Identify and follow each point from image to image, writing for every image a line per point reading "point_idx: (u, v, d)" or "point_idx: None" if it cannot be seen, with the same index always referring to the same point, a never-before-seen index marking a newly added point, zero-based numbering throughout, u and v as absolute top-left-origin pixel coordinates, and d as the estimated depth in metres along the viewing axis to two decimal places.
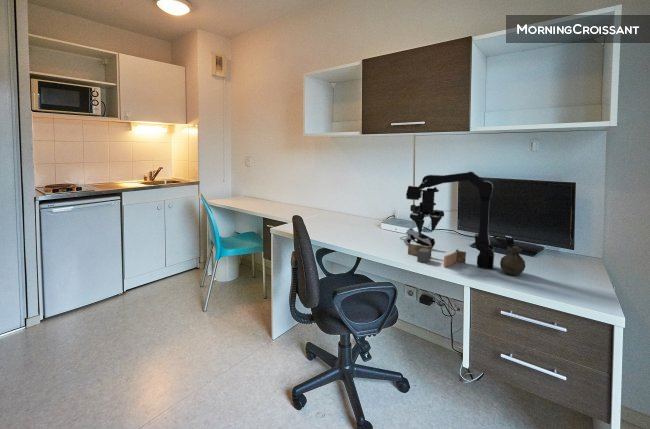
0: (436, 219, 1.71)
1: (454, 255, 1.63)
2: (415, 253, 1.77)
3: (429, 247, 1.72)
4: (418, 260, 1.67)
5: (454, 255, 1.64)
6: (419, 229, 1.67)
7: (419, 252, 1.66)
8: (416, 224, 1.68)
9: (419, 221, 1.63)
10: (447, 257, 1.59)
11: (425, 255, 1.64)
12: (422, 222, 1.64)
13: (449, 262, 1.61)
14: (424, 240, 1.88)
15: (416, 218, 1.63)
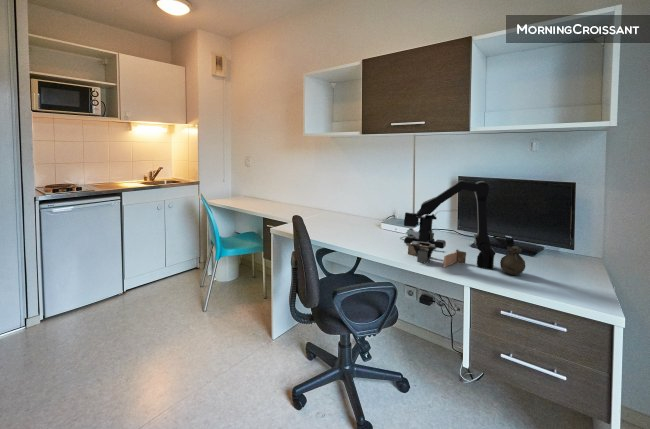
0: None
1: (454, 255, 1.63)
2: (415, 253, 1.77)
3: None
4: (418, 259, 1.67)
5: (454, 255, 1.64)
6: None
7: (419, 252, 1.66)
8: None
9: (411, 245, 1.68)
10: (447, 257, 1.59)
11: (425, 255, 1.64)
12: (414, 247, 1.67)
13: (449, 262, 1.61)
14: None
15: None
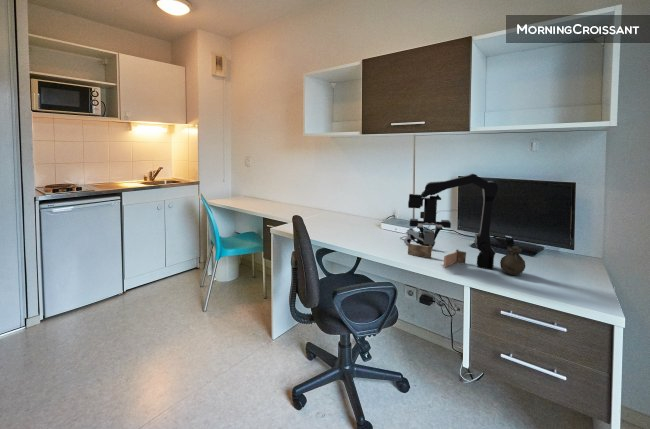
0: (435, 229, 1.63)
1: (454, 255, 1.63)
2: (415, 253, 1.77)
3: (429, 247, 1.72)
4: (425, 242, 1.64)
5: (454, 255, 1.64)
6: (422, 236, 1.66)
7: (426, 234, 1.63)
8: None
9: None
10: (447, 257, 1.59)
11: (432, 236, 1.62)
12: (420, 229, 1.63)
13: (449, 262, 1.61)
14: None
15: None
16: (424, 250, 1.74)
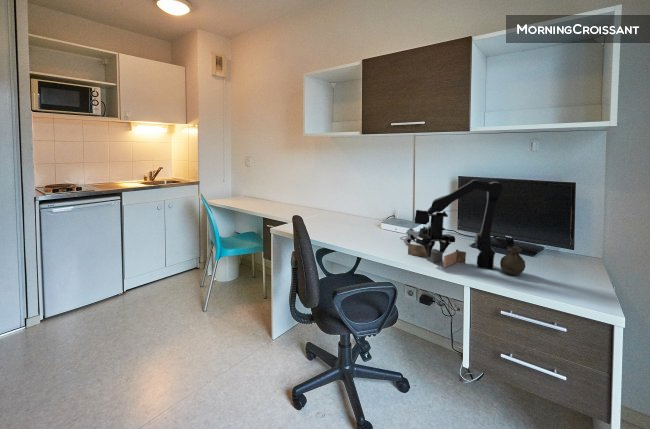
0: (444, 244, 1.66)
1: (454, 255, 1.63)
2: (415, 253, 1.77)
3: None
4: (435, 262, 1.64)
5: (454, 255, 1.64)
6: (428, 253, 1.65)
7: (436, 253, 1.63)
8: (425, 248, 1.66)
9: (426, 246, 1.61)
10: (447, 257, 1.59)
11: (441, 255, 1.64)
12: (430, 247, 1.62)
13: (449, 262, 1.61)
14: None
15: (421, 243, 1.61)
16: (424, 250, 1.74)
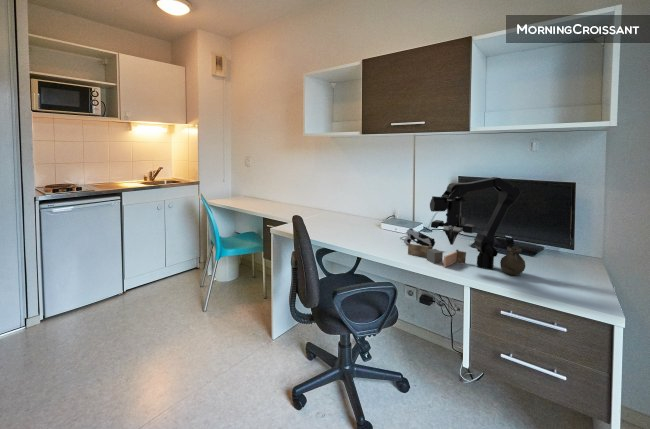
0: None
1: (454, 255, 1.63)
2: (415, 253, 1.77)
3: (429, 247, 1.72)
4: (435, 262, 1.64)
5: (454, 255, 1.64)
6: None
7: (436, 253, 1.63)
8: None
9: None
10: (447, 257, 1.59)
11: (441, 255, 1.64)
12: (446, 232, 1.56)
13: (449, 262, 1.61)
14: (424, 240, 1.88)
15: None
16: (424, 250, 1.74)
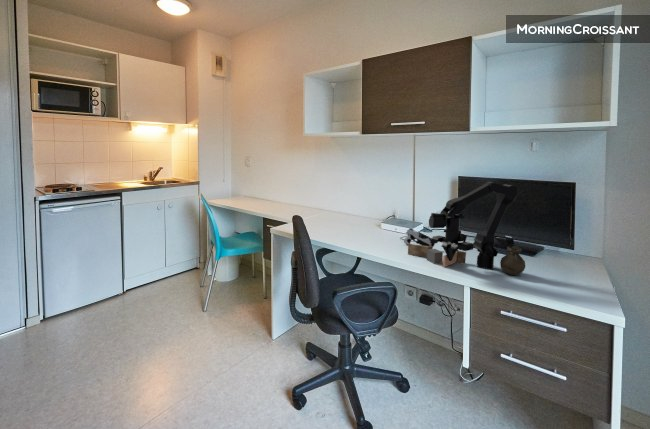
0: None
1: None
2: (415, 253, 1.77)
3: (429, 247, 1.72)
4: (435, 262, 1.64)
5: (454, 255, 1.64)
6: None
7: (436, 253, 1.63)
8: None
9: (441, 246, 1.59)
10: (446, 257, 1.59)
11: (441, 255, 1.64)
12: (444, 248, 1.57)
13: (448, 262, 1.61)
14: (424, 240, 1.88)
15: None
16: (424, 250, 1.74)
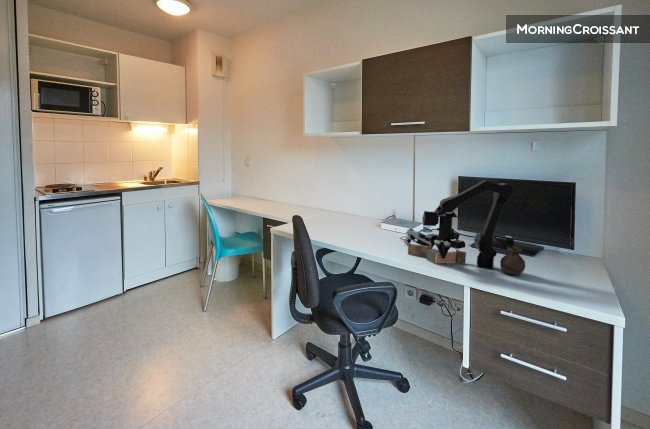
0: None
1: (450, 254, 1.65)
2: (415, 253, 1.77)
3: (429, 247, 1.72)
4: (434, 261, 1.64)
5: (451, 254, 1.65)
6: None
7: None
8: None
9: None
10: (438, 254, 1.63)
11: None
12: (437, 246, 1.61)
13: (442, 260, 1.64)
14: (424, 240, 1.88)
15: None
16: (424, 250, 1.74)
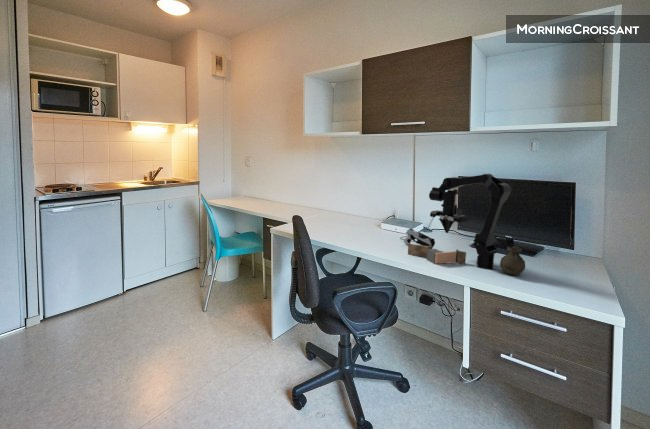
0: None
1: (450, 254, 1.65)
2: (415, 253, 1.77)
3: (429, 247, 1.72)
4: None
5: (451, 254, 1.65)
6: None
7: None
8: None
9: None
10: (438, 254, 1.63)
11: None
12: (441, 221, 1.74)
13: (442, 260, 1.64)
14: (424, 240, 1.88)
15: None
16: (424, 250, 1.74)
